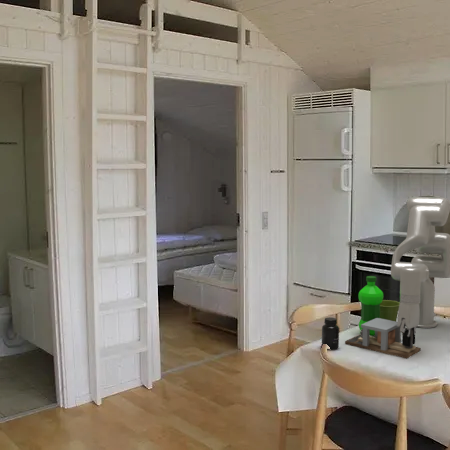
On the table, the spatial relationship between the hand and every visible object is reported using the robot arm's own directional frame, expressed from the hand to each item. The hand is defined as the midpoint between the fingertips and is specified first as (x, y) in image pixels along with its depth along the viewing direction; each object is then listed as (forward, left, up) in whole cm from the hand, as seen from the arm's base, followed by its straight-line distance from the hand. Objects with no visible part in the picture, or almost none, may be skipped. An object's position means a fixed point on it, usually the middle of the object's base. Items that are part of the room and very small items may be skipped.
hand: (408, 344), depth 232 cm
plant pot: (-26, -23, -4) cm, 35 cm away
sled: (0, -10, -2) cm, 10 cm away
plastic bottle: (-13, -24, -4) cm, 27 cm away
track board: (0, -11, -4) cm, 12 cm away
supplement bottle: (+14, -27, -4) cm, 30 cm away
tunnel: (0, -12, -3) cm, 12 cm away
